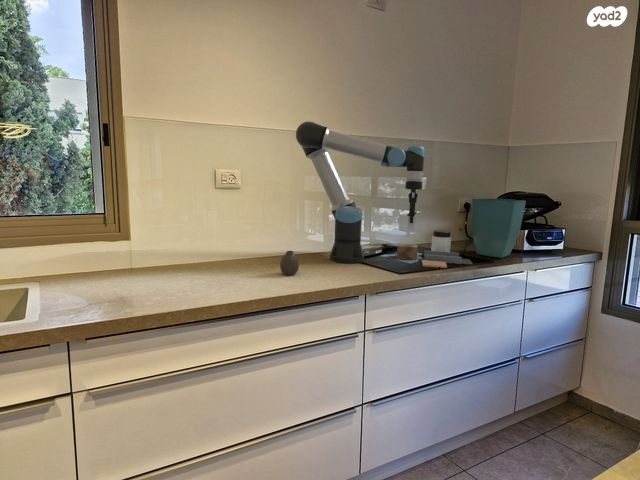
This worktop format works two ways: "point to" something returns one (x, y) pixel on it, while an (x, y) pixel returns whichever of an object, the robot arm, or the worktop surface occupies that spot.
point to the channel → (443, 257)
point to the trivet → (434, 264)
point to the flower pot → (496, 225)
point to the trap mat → (466, 262)
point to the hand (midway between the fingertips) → (410, 228)
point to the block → (407, 251)
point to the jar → (441, 241)
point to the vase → (289, 264)
